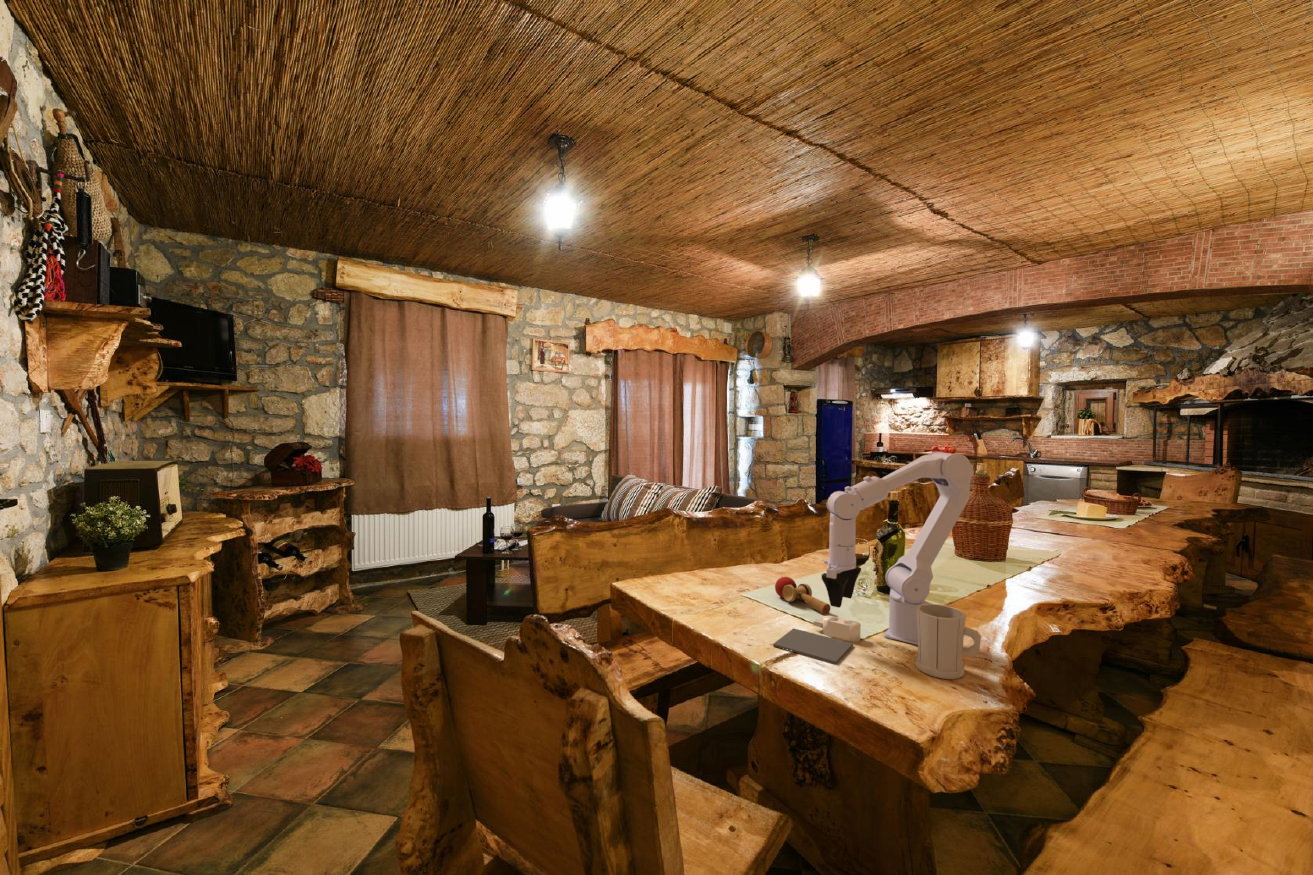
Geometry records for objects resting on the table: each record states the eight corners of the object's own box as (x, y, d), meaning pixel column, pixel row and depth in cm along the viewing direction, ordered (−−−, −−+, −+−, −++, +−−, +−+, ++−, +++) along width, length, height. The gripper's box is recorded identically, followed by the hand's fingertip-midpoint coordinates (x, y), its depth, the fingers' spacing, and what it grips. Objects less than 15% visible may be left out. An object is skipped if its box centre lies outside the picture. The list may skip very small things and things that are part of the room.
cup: (955, 659, 112) (956, 602, 112) (983, 680, 103) (985, 619, 103) (906, 659, 112) (907, 603, 111) (930, 681, 103) (931, 620, 102)
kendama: (837, 616, 140) (789, 588, 156) (837, 594, 139) (788, 568, 154) (816, 626, 137) (769, 597, 152) (816, 605, 135) (768, 577, 150)
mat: (853, 646, 119) (853, 643, 119) (835, 664, 110) (836, 661, 110) (793, 630, 127) (793, 628, 127) (773, 646, 118) (773, 643, 118)
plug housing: (862, 638, 123) (862, 622, 123) (857, 643, 120) (857, 627, 120) (817, 627, 129) (817, 612, 129) (811, 631, 127) (812, 616, 126)
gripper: (835, 535, 132) (834, 590, 132) (813, 547, 120) (812, 606, 121) (865, 539, 127) (864, 596, 128) (845, 552, 116) (844, 613, 116)
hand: (841, 601), depth 124 cm, fingers open, 7 cm apart
